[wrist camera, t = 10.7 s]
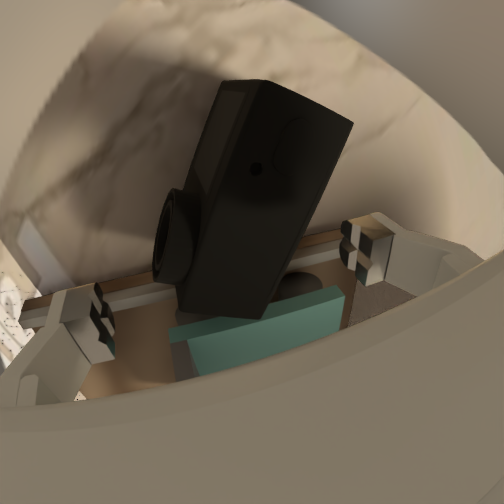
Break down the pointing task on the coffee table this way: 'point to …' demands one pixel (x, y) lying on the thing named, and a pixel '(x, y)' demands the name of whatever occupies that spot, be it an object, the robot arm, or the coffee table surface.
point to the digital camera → (246, 198)
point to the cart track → (163, 317)
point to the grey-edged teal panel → (256, 328)
